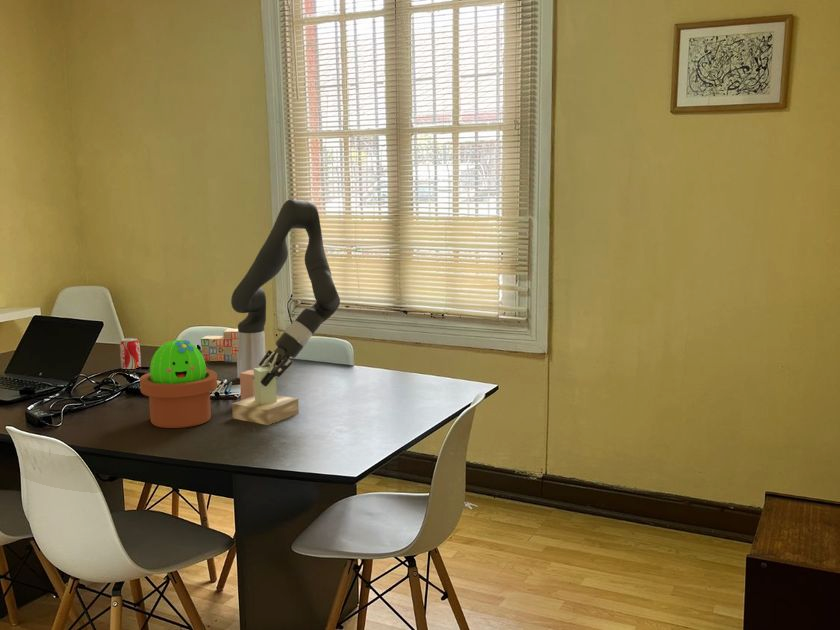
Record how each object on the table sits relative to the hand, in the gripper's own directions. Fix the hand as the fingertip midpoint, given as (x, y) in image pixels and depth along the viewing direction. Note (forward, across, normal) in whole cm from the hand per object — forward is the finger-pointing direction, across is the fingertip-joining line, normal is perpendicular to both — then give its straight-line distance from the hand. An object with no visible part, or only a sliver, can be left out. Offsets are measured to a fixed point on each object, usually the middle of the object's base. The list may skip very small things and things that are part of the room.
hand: (259, 382), depth 253 cm
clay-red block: (+5, -16, +10) cm, 20 cm away
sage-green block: (+3, 0, +6) cm, 6 cm away
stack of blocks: (-6, -79, +22) cm, 82 cm away
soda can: (+20, -83, -4) cm, 85 cm away
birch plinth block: (+7, 0, +9) cm, 11 cm away
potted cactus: (+23, -10, -7) cm, 26 cm away
